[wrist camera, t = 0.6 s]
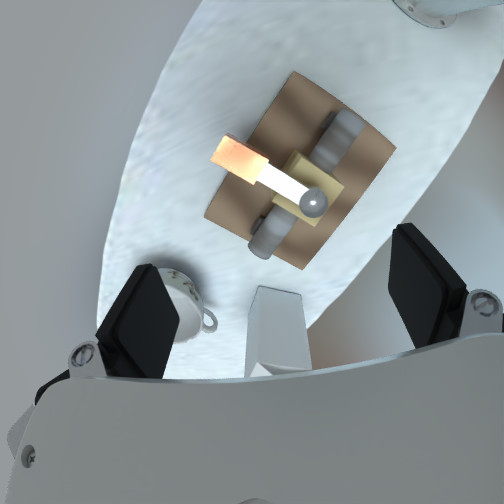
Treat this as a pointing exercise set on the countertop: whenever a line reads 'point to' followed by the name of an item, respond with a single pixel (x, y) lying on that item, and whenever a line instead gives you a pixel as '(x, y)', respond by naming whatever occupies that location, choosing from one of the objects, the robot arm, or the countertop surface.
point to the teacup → (186, 305)
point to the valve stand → (302, 172)
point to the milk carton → (276, 335)
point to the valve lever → (268, 175)
